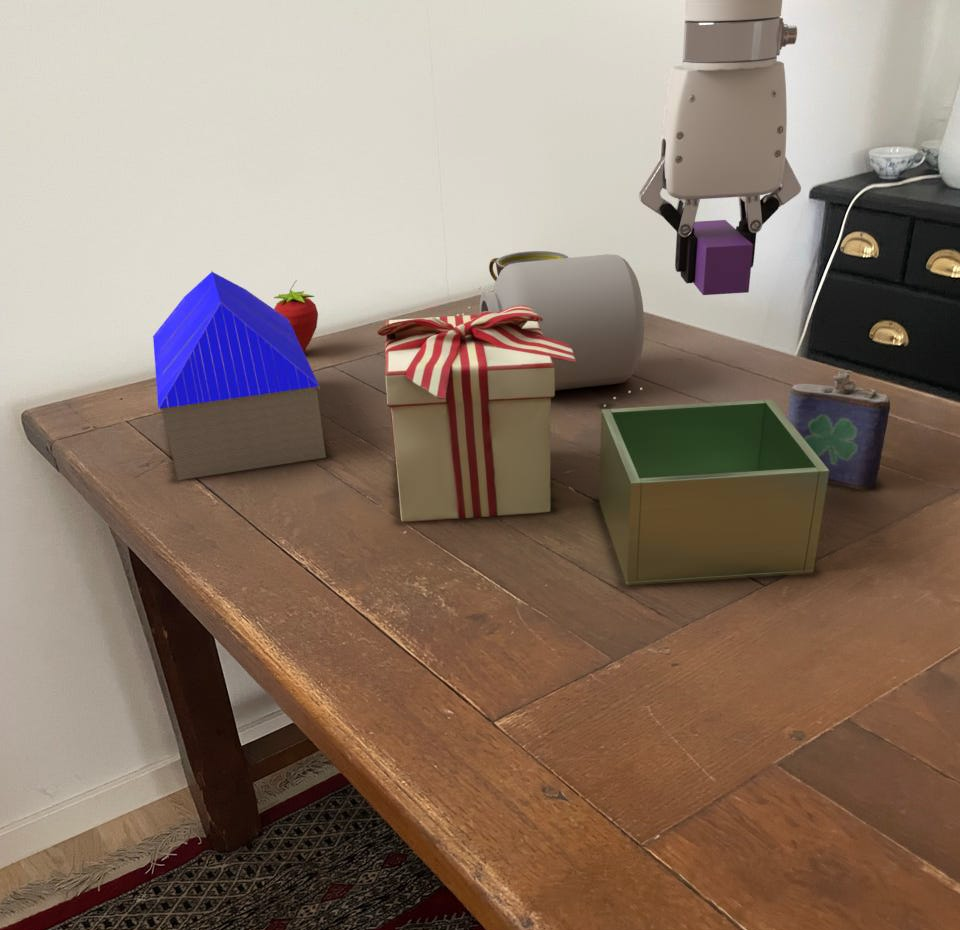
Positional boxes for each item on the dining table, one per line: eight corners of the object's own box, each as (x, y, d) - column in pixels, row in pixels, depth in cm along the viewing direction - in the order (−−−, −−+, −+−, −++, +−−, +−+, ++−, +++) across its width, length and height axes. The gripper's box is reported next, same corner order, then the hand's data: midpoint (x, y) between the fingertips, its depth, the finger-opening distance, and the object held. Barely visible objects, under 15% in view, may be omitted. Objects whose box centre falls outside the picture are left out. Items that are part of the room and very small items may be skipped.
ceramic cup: (584, 331, 142) (585, 257, 136) (537, 350, 136) (536, 273, 131) (515, 316, 150) (513, 244, 144) (467, 333, 144) (464, 259, 138)
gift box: (403, 545, 93) (385, 359, 83) (386, 463, 108) (369, 297, 98) (586, 524, 95) (589, 339, 85) (544, 447, 110) (543, 282, 100)
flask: (776, 476, 101) (790, 370, 95) (785, 465, 103) (799, 360, 97) (872, 494, 97) (892, 385, 91) (879, 482, 99) (900, 374, 93)
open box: (760, 493, 98) (772, 398, 93) (813, 575, 85) (829, 470, 80) (599, 504, 98) (601, 409, 93) (626, 587, 85) (631, 482, 80)
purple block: (721, 264, 97) (725, 219, 95) (748, 292, 89) (753, 244, 87) (679, 266, 97) (682, 222, 95) (702, 295, 89) (706, 247, 87)
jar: (653, 379, 112) (424, 358, 110) (623, 439, 126) (420, 422, 124) (654, 230, 116) (435, 208, 115) (626, 304, 131) (430, 286, 129)
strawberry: (324, 345, 142) (315, 271, 137) (321, 363, 136) (311, 286, 130) (282, 347, 142) (270, 273, 136) (276, 365, 136) (264, 289, 130)
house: (167, 401, 126) (138, 270, 117) (297, 383, 130) (278, 254, 121) (175, 483, 106) (140, 332, 97) (329, 459, 109) (309, 311, 101)
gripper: (818, 36, 86) (792, 262, 96) (620, 48, 86) (614, 273, 96) (849, 42, 80) (817, 283, 90) (634, 55, 80) (627, 294, 90)
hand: (713, 275), depth 93 cm, fingers closed on purple block, 4 cm apart
